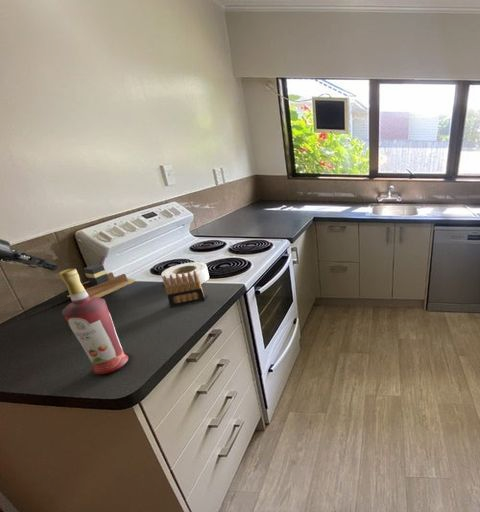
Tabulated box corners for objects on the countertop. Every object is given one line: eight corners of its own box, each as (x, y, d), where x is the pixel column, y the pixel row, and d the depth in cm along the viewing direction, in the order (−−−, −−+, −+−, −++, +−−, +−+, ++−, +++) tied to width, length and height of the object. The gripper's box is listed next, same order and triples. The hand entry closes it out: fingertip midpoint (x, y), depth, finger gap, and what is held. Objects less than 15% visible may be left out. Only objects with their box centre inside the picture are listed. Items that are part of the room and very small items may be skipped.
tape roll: (187, 271, 128) (183, 260, 126) (217, 274, 125) (215, 263, 123) (154, 288, 114) (150, 276, 112) (188, 292, 111) (184, 279, 109)
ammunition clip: (205, 298, 107) (197, 269, 103) (205, 300, 106) (197, 271, 101) (171, 305, 103) (161, 275, 98) (170, 307, 101) (160, 277, 97)
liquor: (137, 356, 79) (98, 263, 68) (119, 376, 72) (72, 277, 61) (107, 359, 78) (62, 265, 67) (86, 380, 71) (32, 279, 60)
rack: (67, 298, 107) (63, 289, 105) (113, 279, 121) (109, 270, 120) (90, 301, 105) (86, 292, 103) (134, 281, 119) (131, 273, 118)
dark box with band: (92, 289, 111) (82, 268, 108) (103, 284, 115) (95, 264, 111) (100, 290, 110) (91, 269, 107) (111, 285, 114) (103, 265, 111)
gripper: (3, 236, 81) (69, 258, 96) (-32, 232, 84) (37, 254, 99) (-14, 260, 79) (56, 279, 93) (-50, 256, 81) (24, 274, 96)
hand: (46, 266), depth 96 cm, fingers open, 8 cm apart
